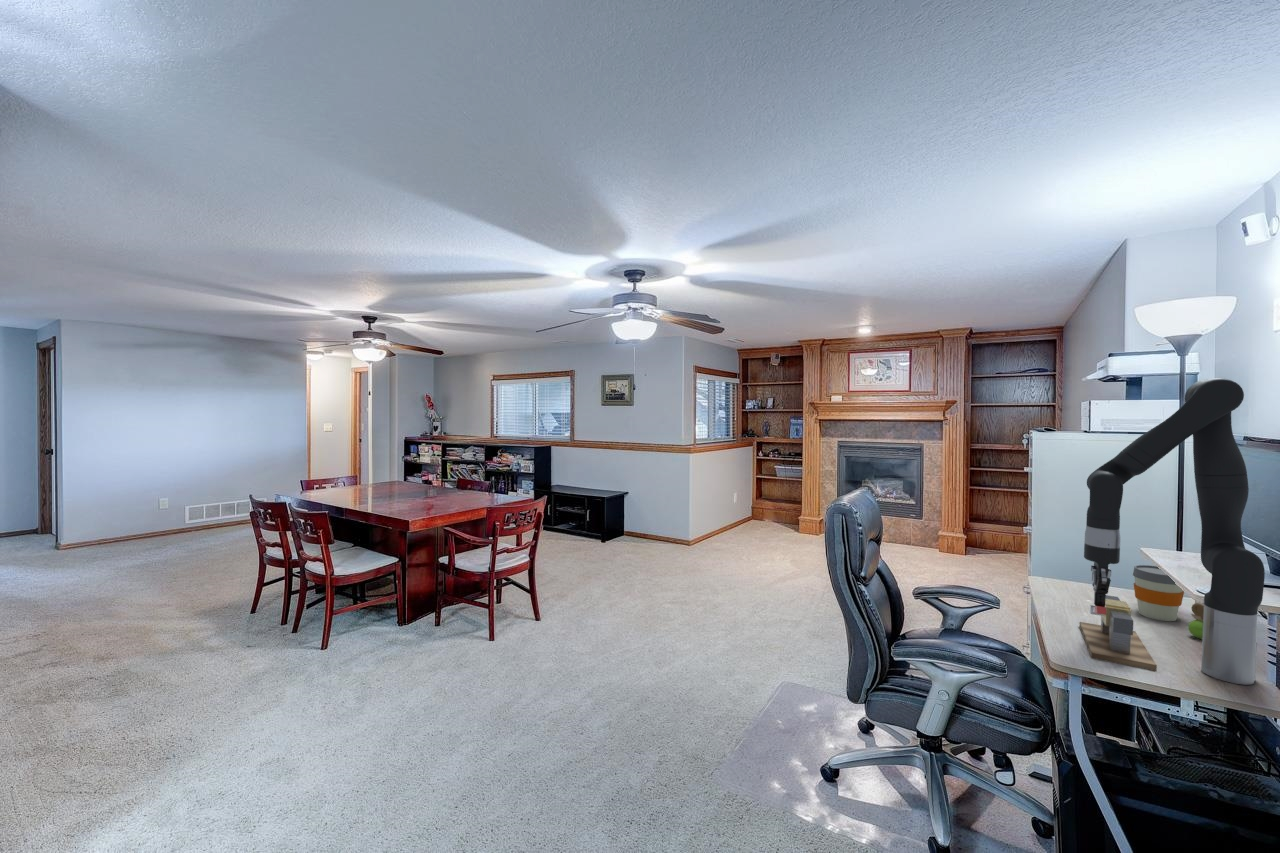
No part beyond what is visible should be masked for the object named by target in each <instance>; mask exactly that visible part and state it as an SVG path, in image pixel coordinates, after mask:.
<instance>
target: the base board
mask: <svg viewBox="0 0 1280 853" xmlns="http://www.w3.org/2000/svg"><path fill="white" fill-rule="evenodd" d="M1078 626H1079V630H1080V631H1081V634H1082V638H1083V639H1084V642H1085V644H1086V647H1087V650H1088V652H1089V654H1090V657H1091V659H1094V660H1099V661H1104V662H1110V663H1114V664H1119V665H1124V666H1131V667H1136V668H1140V669H1146V670H1148V671H1149V670H1151V671H1155V672H1157V667H1158V665H1157V663H1156V662H1155V660H1154V659H1153V657H1152V656H1151V654H1150V653H1149V651H1148V649H1147V647H1146V646H1145V644H1144V643H1143V641H1142V639H1141V638H1140V636H1139V634H1138V633H1137V632H1136V630H1133V635H1131V643H1130V654H1126V653H1120V652H1115V651H1111V650H1110V648H1109V634H1104V633H1102V632H1101V624H1094V623H1089V622H1084V621H1079V625H1078Z"/></svg>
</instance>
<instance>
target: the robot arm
mask: <svg viewBox="0 0 1280 853" xmlns="http://www.w3.org/2000/svg"><path fill="white" fill-rule="evenodd" d="M1244 396H1245V394H1244V389H1243V387H1241V385H1240V384H1239V383H1238V382H1235V381H1234V380H1231V379H1226V378H1223V377H1222V378H1220V377H1218V378H1216V377H1215V378H1209V379H1208V378H1206V379H1202V380H1198V381H1195V382H1194V383H1193V384H1191V385H1190V386H1189V387H1188V388H1187V389H1186V391H1185V394H1184V404H1182V406H1181V407H1180V408H1178V409H1177V410H1176V411H1175V412H1173V413H1172V415H1170V416H1169V417H1167V418H1166V419H1165V420H1163V421H1162V422H1160V423H1159V424H1157V425H1156V426H1154V427H1153V428H1151V429H1150V430H1148V431H1146V432H1144V433H1143V434H1141V435H1140V436H1138V437H1137V438H1136V439H1135V440H1133V441H1132V442H1131V443H1129V445H1127V446H1126V447H1125V448H1124V449H1122V450H1121V451H1120V452H1119V453H1118V454H1117V455H1116V456H1114V457H1113V458H1111V459H1110V460H1108V461H1107V462H1106V463H1104V464H1102V465H1101V466H1099V467H1098V468H1096V469H1095V470H1094V471H1093V472H1091V473H1090V474H1089V475H1088V477H1087V479H1086V487H1087V489H1088V490H1089V506H1088V507H1087V510H1086V523H1085V524H1086V526H1085V531H1084V541H1083V542H1084V546H1083V548H1084V549H1083V558H1084V559H1085V560H1086V561H1089V562H1093V565H1090V571H1091V581H1092V588H1093V589H1092V590H1093V591H1094V594H1093V596H1094V597H1093V604H1094V606H1100V607H1105V599H1106V595H1108V593H1109V589H1110V584H1111V582H1112V580H1111V577H1112V570H1111V569H1110V567H1109V565H1110V564H1111V565H1115V564H1116V565H1117V564H1119V563H1120V560H1121V559H1120V558H1121V556H1120V555H1121V531H1120V525H1121V522H1120V521H1121V515H1120V514H1121V513H1120V512H1121V511H1120V510H1121V506H1122V503H1123V496H1124V485H1125V484H1126V483H1127V482H1128V481H1130V480H1131V479H1132V478H1134V477H1136V476H1139V475H1142V474H1144V472H1146V471H1147V470H1148V469H1150V468H1151V467H1153V466H1154V465H1155V464H1157V463H1158V462H1159V461H1160V460H1161V459H1163V458H1164V457H1165V456H1167V454H1169V453H1170V452H1172V451H1173V450H1174V449H1175V448H1176V447H1178V446H1179V445H1180V444H1182V443H1184V441H1185V440H1187V439H1188V438H1190V437H1191V436H1192V448H1193V449H1192V450H1193V451H1192V452H1193V453H1192V454H1193V456H1192V457H1193V471H1194V472H1193V473H1194V481H1195V482H1194V483H1195V489H1196V496H1197V502H1198V504H1197V506H1198V509H1199V510H1198V512H1199V515H1200V516H1199V517H1200V522H1201V538H1200V539H1201V541H1200V560H1201V561H1200V562H1201V564H1202V566H1203V567H1204V569H1205V570H1206V572H1208V573H1210V575H1211V583H1210V589H1209V591H1207V592H1205V594H1204V596H1203V604H1204V615H1203V616H1204V617H1203V639H1201V640H1202V641H1201V642H1202V644H1201V658H1200V659H1201V660H1200V661H1201V664H1200V669H1201V670H1200V671H1201V672H1202V673H1204V674H1205V675H1207V676H1210V677H1212V678H1214V679H1217V680H1221V681H1223V682H1227V683H1232V684H1237V685H1245V686H1246V685H1253V684H1255V680H1256V679H1257V678H1256V677H1257V676H1256V674H1257V657H1258V656H1257V653H1258V642H1257V632H1258V631H1257V630H1258V610H1259V607H1260V605H1262V601H1263V595H1264V587H1265V579H1266V578H1265V574H1266V573H1265V566H1264V562H1263V561H1262V559H1261V558H1260V556H1259V555H1257V554H1256V553H1254V552H1252V551H1251V550H1248V549H1246V547H1245V543H1244V539H1243V534H1242V518H1243V514H1244V511H1245V509H1246V506H1247V502H1248V498H1249V492H1250V491H1249V481H1248V480H1249V479H1248V471H1247V467H1246V463H1245V459H1244V457H1243V454H1242V452H1241V450H1240V448H1239V446H1238V444H1237V441H1236V439H1235V437H1234V433H1233V426H1232V412H1233V411H1234V410H1236V409H1237V408H1239V407H1240V405H1241V404H1242V402H1243V401H1244Z"/></svg>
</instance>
